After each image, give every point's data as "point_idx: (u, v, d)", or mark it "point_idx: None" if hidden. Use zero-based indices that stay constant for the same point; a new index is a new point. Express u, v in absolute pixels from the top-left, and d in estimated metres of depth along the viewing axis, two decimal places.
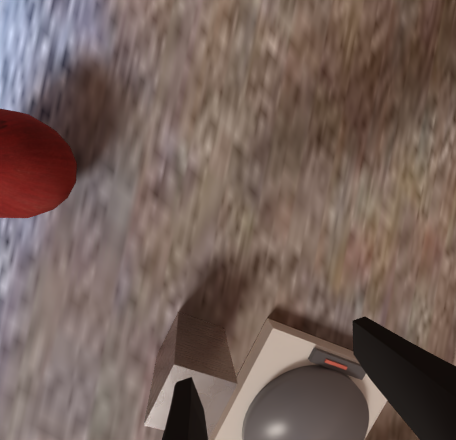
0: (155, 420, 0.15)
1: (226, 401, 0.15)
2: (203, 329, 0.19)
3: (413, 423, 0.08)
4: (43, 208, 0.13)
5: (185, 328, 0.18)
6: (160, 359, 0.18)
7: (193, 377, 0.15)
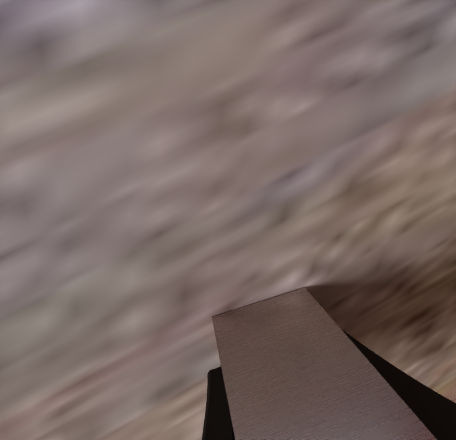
0: None
1: None
2: None
3: None
4: None
5: None
6: (254, 344, 0.09)
7: None
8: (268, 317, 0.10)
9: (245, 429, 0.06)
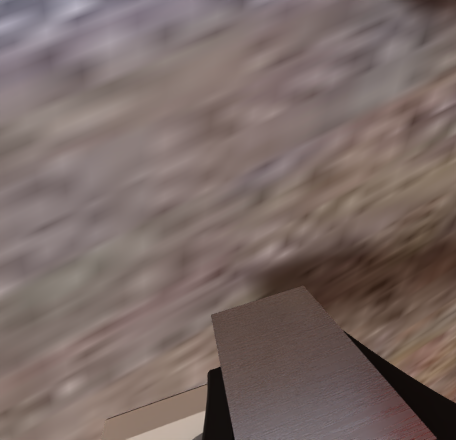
0: None
1: None
2: None
3: None
4: None
5: None
6: (252, 341, 0.09)
7: None
8: (267, 315, 0.10)
9: (243, 424, 0.06)
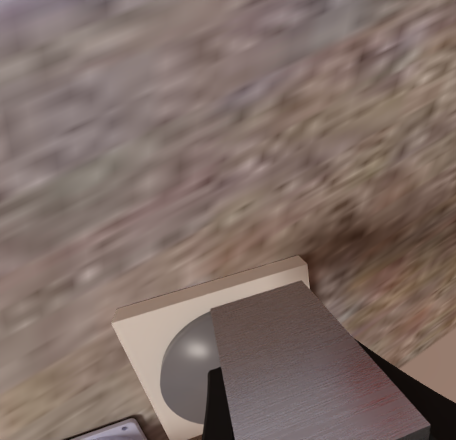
0: None
1: None
2: None
3: None
4: None
5: None
6: (251, 333, 0.09)
7: None
8: (265, 308, 0.10)
9: (241, 412, 0.06)
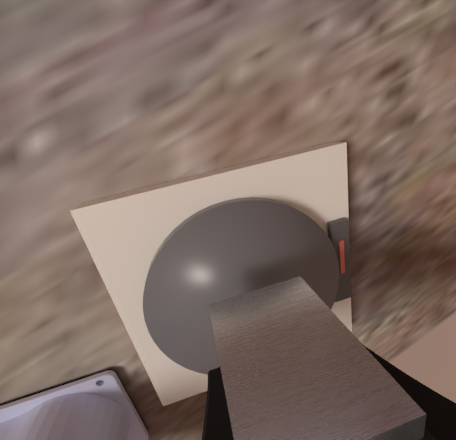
0: None
1: None
2: None
3: None
4: None
5: None
6: (249, 328, 0.09)
7: None
8: (263, 304, 0.10)
9: (238, 404, 0.06)
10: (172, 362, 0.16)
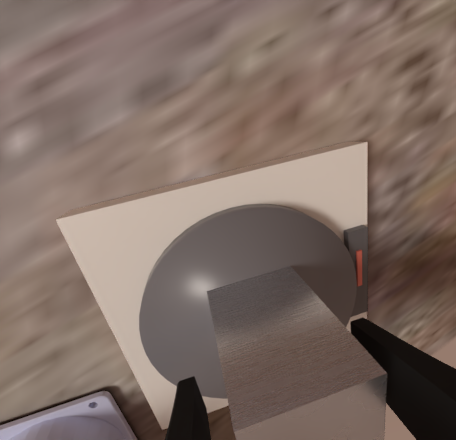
0: (255, 438, 0.06)
1: None
2: None
3: (410, 424, 0.08)
4: None
5: None
6: (242, 310, 0.10)
7: (373, 413, 0.07)
8: (256, 289, 0.11)
9: (232, 370, 0.07)
10: (172, 383, 0.14)
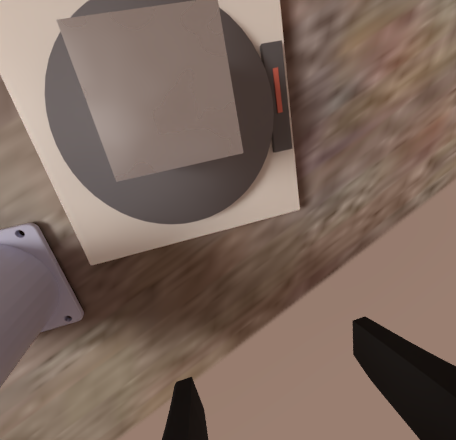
0: (84, 42, 0.06)
1: (204, 156, 0.08)
2: None
3: (413, 423, 0.08)
4: None
5: None
6: None
7: (214, 59, 0.07)
8: None
9: None
10: (96, 207, 0.14)
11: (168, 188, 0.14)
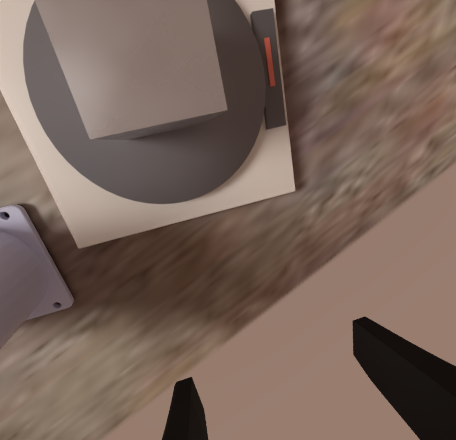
0: None
1: (185, 113, 0.07)
2: None
3: (413, 423, 0.08)
4: None
5: None
6: None
7: (191, 1, 0.07)
8: None
9: None
10: (82, 187, 0.14)
11: (156, 165, 0.13)
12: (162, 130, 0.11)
